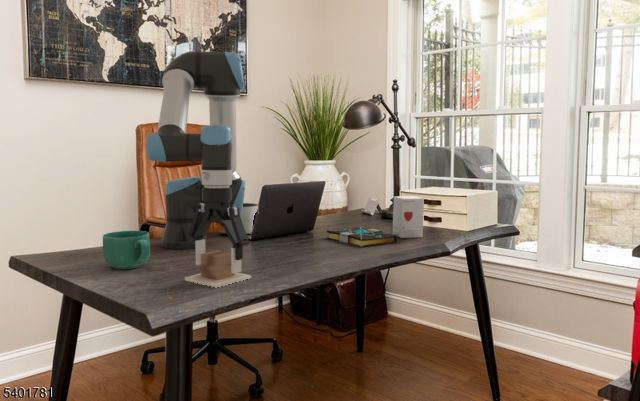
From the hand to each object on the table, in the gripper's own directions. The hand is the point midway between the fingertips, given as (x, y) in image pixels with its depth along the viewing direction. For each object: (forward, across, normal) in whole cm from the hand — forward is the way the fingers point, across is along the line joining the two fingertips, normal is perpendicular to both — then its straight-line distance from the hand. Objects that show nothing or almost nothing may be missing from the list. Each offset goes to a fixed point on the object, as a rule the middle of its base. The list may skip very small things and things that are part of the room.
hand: (218, 268), depth 139 cm
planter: (+4, -46, +54) cm, 71 cm away
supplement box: (+4, +7, +89) cm, 90 cm away
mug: (+3, -29, -7) cm, 30 cm away
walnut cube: (+2, 0, 0) cm, 2 cm away
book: (+4, -2, +70) cm, 70 cm away
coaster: (+3, 0, 0) cm, 3 cm away
